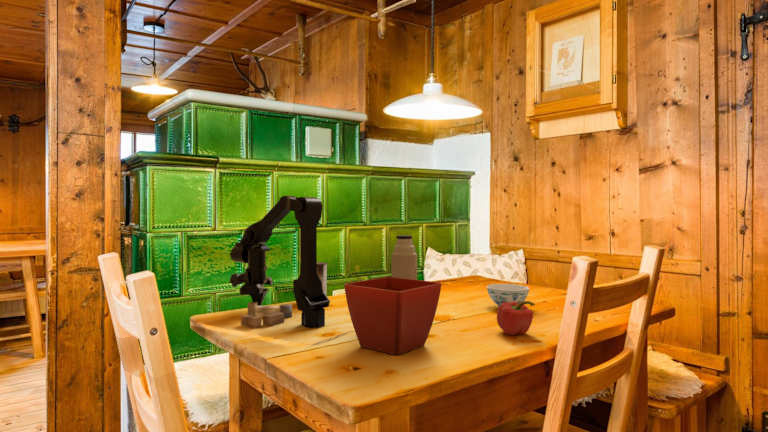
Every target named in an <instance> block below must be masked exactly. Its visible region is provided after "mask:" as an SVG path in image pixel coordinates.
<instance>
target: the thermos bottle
mask: <svg viewBox="0 0 768 432" xmlns="http://www.w3.org/2000/svg"><path fill="white" fill-rule="evenodd" d="M412 238H413V236H412V235H409V234H408V235H404V234H402V235H396V244H394V246H393V252H392V253H391V277H395V278H405V279H414V280H418V254H417V252H416V246H415V245H413V239H412Z"/></svg>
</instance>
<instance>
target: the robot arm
mask: <svg viewBox="0 0 768 432" xmlns="http://www.w3.org/2000/svg"><path fill="white" fill-rule="evenodd" d="M291 211H292V212H294V218H295V221H296V222H297V223H298V225H299V234H300V235H299V245H300V246H299V248H300V249H299V257H300V260H299V261H300V262H299V263H300V264H299V276H298V277H297V278H296V279H293V281H292V283H293V284H292V285H293V286H292V287H293V291H292V293H293V294H294V295H293V296H294V300H295V303H296V306H297V307H296V308H297V310H298V311H300V312H301V318H300V320H301V322H300V323H301V324H300V325H301V326H303V327H304V328H307V329H319V328H323V327H326V320H325V319H326V317H325V316H326V314H325V313H326V312H325V311H326V309H325V308H329V306H330V303H331V301H330V299H329V298H328V296H327V293H326V294H325V293H324V292H323V289H322V282H321V280H320V278H319V276H318V275H317V262H318V259H317V258H318V257H317V255H318V251H317V249H318V248H317V247H318V245H317V243H318V242H317V236H318V235H317V227H318V224H319V222H321V221H320V220H321V218H322V214H323V202H322V201H321V199H320V198H318V197H316V196H299V197H297V196H294V195H282V196H281V197H280V198H279V200H278V201H277V202H276V204H274V205H273V207H272V208H271V209H270V210H269V211H268V212H267V213H266V214H265V215H264V216H262V217H263V218H261V219H260V220H259V221H256V222H254V223H252V224H250V225H249V226H248V227H246V228H245V229H244V233H243V235H242V237H241V238H240V241H238V242H235V244H234V246H233V247H232V249H231V250H230V253H229V256H230V260H231V261H232V262H234V263H241V264H247V267H246V269H244V270H245V271H244V272H242V273H239V274H238V272H235V273H233V274H230V278H229V284H231V285H232V287H233V288H235V287H237V286H239V285H241V286H240V287H239V295H240V296H242V295H248V296H249V297H250V298H251V300H252V301H251V302H258V306H263V302H264V300H265V298H266V295H267V293H268V291H269V288H266V287H265V286H266V285H267V286H269V287H271V286H273V284H274V281H273V278H272V277H271V276H267V270H268V266H267V262H266V259H267V255H266V254H267V253H266V252H270V251H271V248H270V247H269V246H268V245H267V244H266V243H267V242H268V241H269V240H270V238H271V237H272V235H273V231H274V229H275V228H276V227H277V226H278V225H279V224H280V223H281V222H282V221H283V220H284V219H285V218H286V217H287V215H288V214H290V212H291ZM242 284H243V285H242ZM264 285H265V286H264ZM312 302H315V303H312ZM311 303H312V304H311Z"/></svg>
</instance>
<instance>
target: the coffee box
mask: <svg viewBox="0 0 768 432" xmlns="http://www.w3.org/2000/svg"><path fill="white" fill-rule="evenodd" d="M327 271H328V262H325V261H324V262H319V261H317V275H318V276H319V278H320V280H321V282H322V289H323V292H324V293H325V294H326V295H327V289H328V288H327V286H328V285H327V282H328V281H327V280H328V279H327V278H328V276H327V273H328V272H327ZM312 303H315V302H312ZM312 303H311V304H312Z"/></svg>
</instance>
